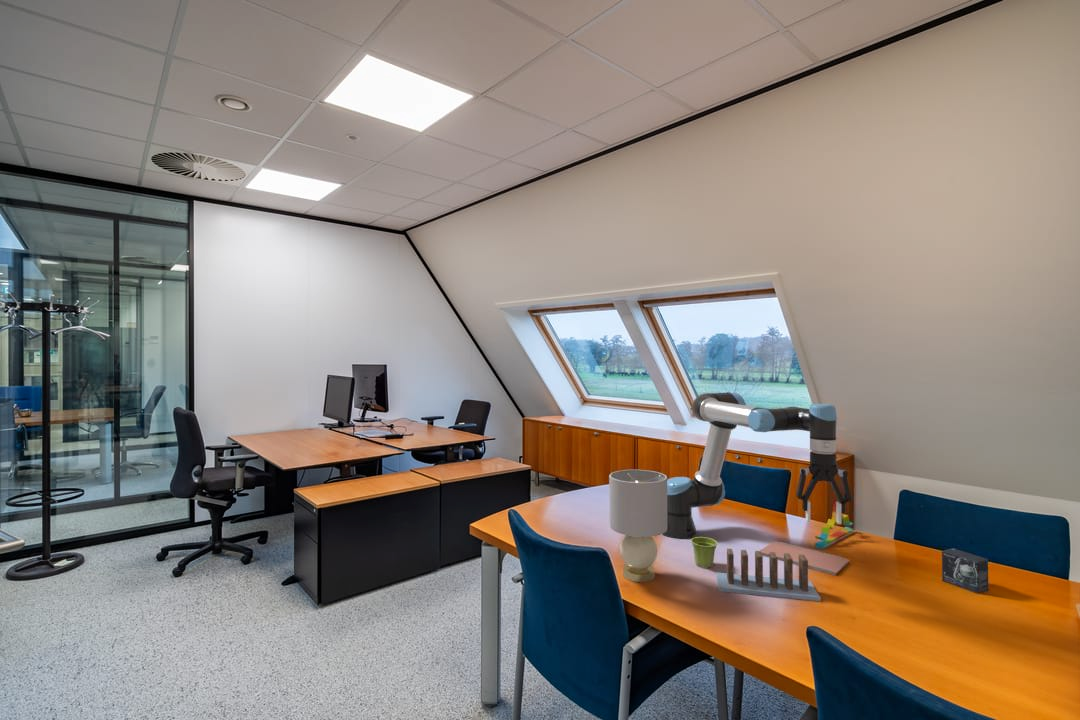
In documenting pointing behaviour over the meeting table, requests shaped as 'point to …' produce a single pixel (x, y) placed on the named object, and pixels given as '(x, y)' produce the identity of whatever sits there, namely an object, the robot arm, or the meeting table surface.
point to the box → (965, 570)
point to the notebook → (814, 557)
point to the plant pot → (704, 551)
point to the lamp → (638, 518)
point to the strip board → (766, 588)
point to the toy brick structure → (836, 536)
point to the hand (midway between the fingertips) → (823, 521)
